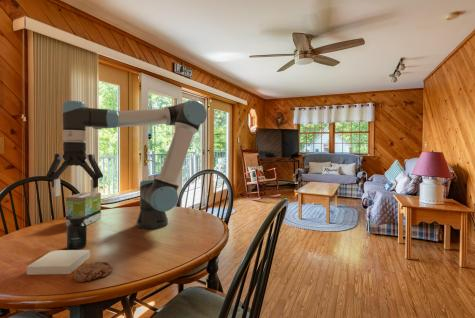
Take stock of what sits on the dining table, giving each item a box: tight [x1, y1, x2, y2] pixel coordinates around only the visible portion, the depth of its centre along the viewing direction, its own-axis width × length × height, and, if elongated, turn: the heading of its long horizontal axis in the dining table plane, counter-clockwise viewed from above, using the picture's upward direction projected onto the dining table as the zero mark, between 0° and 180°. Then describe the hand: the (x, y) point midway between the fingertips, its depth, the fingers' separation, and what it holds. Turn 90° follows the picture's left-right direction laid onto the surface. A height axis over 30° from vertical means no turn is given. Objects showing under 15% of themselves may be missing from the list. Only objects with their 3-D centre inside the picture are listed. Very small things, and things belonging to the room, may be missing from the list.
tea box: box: [65, 191, 102, 227], centre depth 139 cm, size 15×10×15 cm
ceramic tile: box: [26, 249, 91, 276], centre depth 91 cm, size 13×13×2 cm
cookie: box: [73, 261, 113, 283], centre depth 85 cm, size 10×11×3 cm
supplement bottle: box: [66, 216, 88, 250], centre depth 106 cm, size 7×7×12 cm
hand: (75, 196), depth 105 cm, fingers open, 13 cm apart
